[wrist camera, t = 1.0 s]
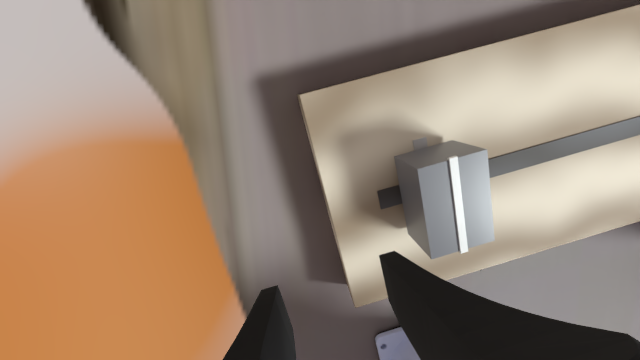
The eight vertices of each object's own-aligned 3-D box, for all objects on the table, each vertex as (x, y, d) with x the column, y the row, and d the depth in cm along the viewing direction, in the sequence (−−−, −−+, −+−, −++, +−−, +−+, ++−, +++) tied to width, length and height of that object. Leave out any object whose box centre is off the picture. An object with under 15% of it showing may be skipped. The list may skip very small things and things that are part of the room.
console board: (663, 189, 24) (708, 201, 21) (347, 284, 22) (355, 308, 20) (685, -8, 19) (744, -23, 17) (296, 94, 18) (299, 94, 16)
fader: (461, 219, 19) (496, 243, 16) (408, 235, 18) (432, 261, 15) (452, 138, 17) (488, 147, 14) (393, 154, 17) (418, 167, 14)
